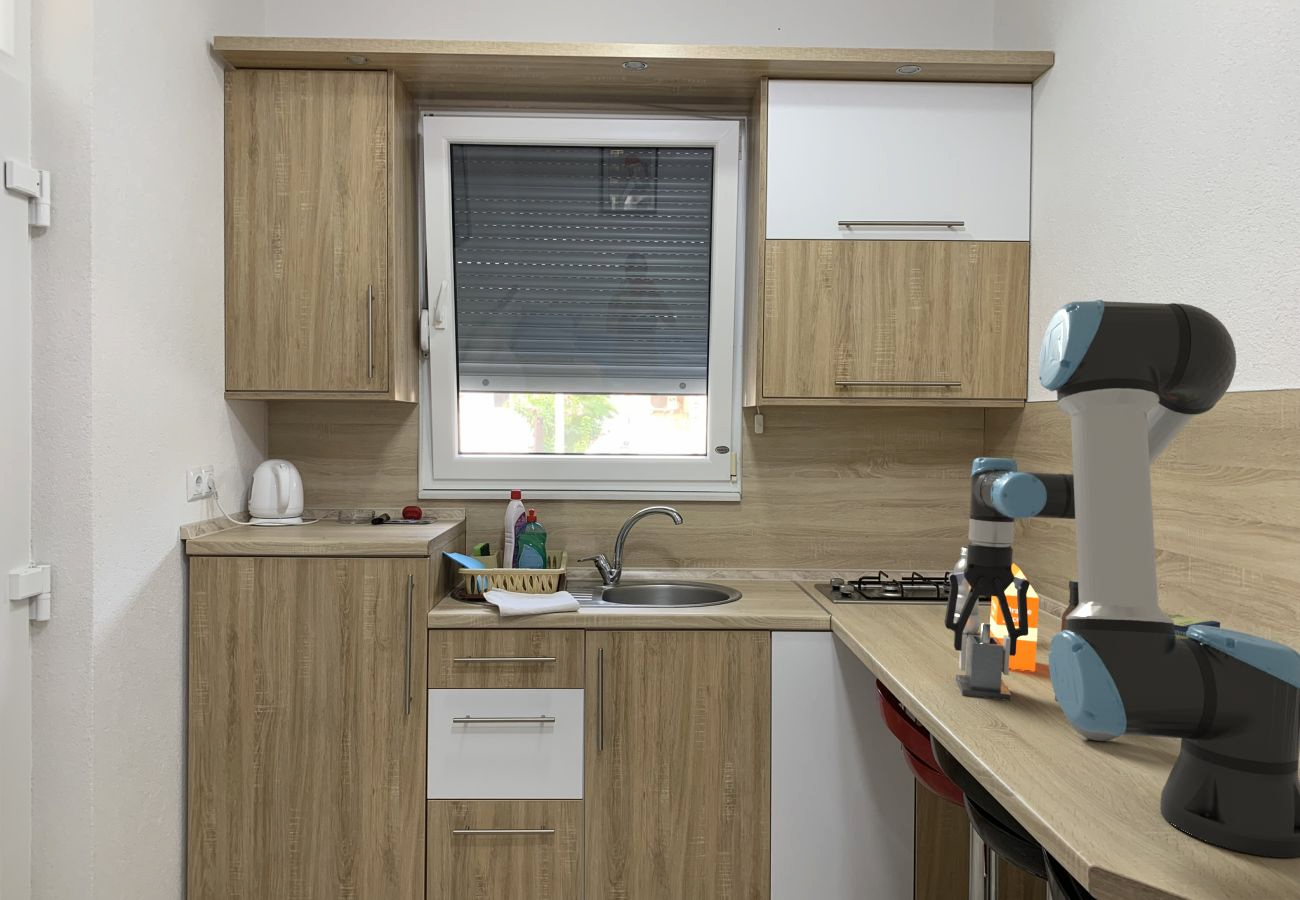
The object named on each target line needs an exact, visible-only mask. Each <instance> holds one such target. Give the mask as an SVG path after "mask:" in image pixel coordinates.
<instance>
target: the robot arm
mask: <svg viewBox="0 0 1300 900" xmlns="http://www.w3.org/2000/svg"><path fill="white" fill-rule="evenodd" d="M1044 333H1045V334H1044V336H1043V339H1042V343H1041V345H1040V346H1041V347H1040V351H1039V352H1040V353H1039V359H1038V378H1039V379H1038V380H1040V384H1041V386H1042V387H1043V388H1044V389H1046V390H1049V391H1050V392H1055V391H1056V393H1057V394H1056V395H1057V397H1056V398H1057V399H1056V400H1057V401H1056V402H1057V408H1058V409H1059V410H1060V411H1061V412H1062V413H1064V414H1065V415H1066V416H1067V417H1069V419H1070V424H1071V446H1072V448H1071V450H1072V451H1071V452H1072V453H1071V454H1072V470H1073V471H1072V472H1073V473H1072V474H1071V473H1050V472H1049V473H1048V472H1047V473H1046V472H1034V471H1033V472H1031V471H1030V472H1029V471H1018V463H1017V462H1016V460H1015V459H1013V458H999V457H998V458H997V457H977V458H974V460H973V461H972V469H971V474H970V480H971V483H970V502H969V503H970V505H969V506H970V507H969V526H968V540H970V542H969V544H967V547H968V554H967V566H966V569H965V570H964V572H963V573H957V574H954V572H950V573H948V580H949V591H948V599H947V603H946V609H945V610H946V611H945V616H944V625H945V627H946V629H947V630H951V631H953V633H954V635H953V636H954V637H953V647H954V649H955V651H958V652H959V660H958V661H959V662H958V667H959V669H960V671H962V672H966V661H967V642H968V635H967V634H966V632H964V631H963V630H964V628H965V626H966V623H967V621H968V619H969V616H970V614H971V612H972V610H973V607H974V605H975V603H976V601H977V599H978V598H979V597H980V596H983V597H985V596H991V597H992V596H995V597H997V599H998V602H999V605H1000V609H1001V612H1002V615H1003V618H1004V621H1005V625H1006V628H1007V631H1008V635H1003V658H1002V675H1004V676H1009V674H1010V669H1009V657H1010V656H1015V654H1016V644H1017V638H1018V637H1020V636H1027V635H1028V633H1029V632H1028V612H1027V591H1028V588H1029V585H1031V583H1030V581H1029V580H1028V579H1027V578H1026V579H1027V580H1028V581H1027V580H1026V579H1025V578H1022V579H1021V578H1018V577H1014V575H1013V573H1012V564H1013V551H1014V548H1013V547H1012V546H1011V544H1013V543H1014V533H1015V519H1021V520H1022V519H1029V518H1040V519H1043V518H1044V519H1063V520H1074V521H1075V523H1074V524H1075V539H1076V540H1075V542H1076V546H1075V547H1076V563H1077V564H1076V566H1077V567H1076V569H1077V570H1076V571H1077V580H1078V593H1079V604H1078V606H1077V607H1076V608H1075V609H1074V610H1073V611H1072V612H1071V613H1070V614H1069V615H1068V616H1067V617H1066V625H1067V630H1063V631H1061V630H1060V631H1058V632H1057V633H1055V635H1053V636H1052V638H1051V641H1050V650H1049V652H1048V668H1049V675H1050V680H1051V681H1050V682H1051V685H1052V688H1053V692H1054V696H1055V695H1056V698H1057V700H1058V701H1057V702H1058V705H1059V706H1060V708H1061V710H1062V711H1063V714H1064V716H1065V715H1066V716H1067V718H1068V719H1069V720H1070V721H1071V722H1072V723H1073V724H1074V725H1076V726H1077V727H1079V728H1081V729H1083V730H1086V731H1092V732H1101V733H1108V734H1110V735H1115V736H1119V737H1120V736H1123V735H1125V736H1136V737H1137V736H1139V737H1141V736H1142V737H1156V738H1169V739H1181V741H1180V751H1179V755H1178V757H1177V758H1176V761H1175V762H1174V765H1173V767H1172V768H1171V771H1170V773H1169V775H1168V777H1167V780H1166V782H1165V784H1164V786H1163V788H1162V790H1161V793H1160V807H1159V811H1160V810H1161V812H1160V814H1161V813H1162V814H1161V816H1162V815H1163V816H1164V817H1165V818H1166V819H1167V820H1168V821H1169V822H1171V823H1172V824H1174V825H1176V827H1178V828H1180V829H1182V830H1184V831H1186V832H1188V833H1190V834H1192V835H1194V836H1196V837H1198V838H1201V839H1203V840H1206V841H1208V842H1207V843H1209V842H1211V843H1210V844H1212V843H1213V844H1212V845H1215V844H1217V845H1216V846H1218V845H1219V846H1218V847H1221V846H1223V847H1222V848H1224V847H1225V849H1228V850H1233V851H1235V852H1240V851H1241V852H1242V853H1245V854H1250V855H1254V856H1262V855H1263V857H1271V856H1272V857H1271V858H1295V857H1300V778H1299V764H1300V763H1299V759H1300V653H1299V652H1297V650H1295V649H1293V648H1292V647H1290V646H1288V645H1286V644H1283V643H1280V642H1277V641H1273V640H1271V639H1267V638H1263V637H1261V636H1256V635H1254V634H1248V633H1246V632H1241V631H1237V630H1233V629H1227V628H1222V627H1220V628H1218V627H1212V626H1206V625H1191V626H1190V627H1189V628H1188V631H1187V632H1186V636H1187V637H1188V638H1187V639H1182V638H1175V631H1174V621H1173V620H1172V619H1171V618H1170V617H1169V616H1167V615H1166V614H1165V613H1164V612H1165V611H1164V610H1162V609H1161V608H1160V606H1159V595H1158V582H1157V581H1158V580H1157V566H1156V565H1157V564H1156V561H1157V560H1156V547H1155V533H1154V517H1153V515H1154V514H1153V498H1152V485H1151V483H1152V482H1151V466H1152V465H1153V463H1154V462H1155V461H1156V460H1157V459H1158V458H1159V457H1160V456H1161V454H1162V453H1163V452H1164V451H1165V449H1167V447H1168V446H1169V445H1170V444H1171V443H1172V442H1173V441H1174V440H1175V439H1176V437H1177V436H1178V435H1179V434H1180V433H1181V432H1182V431H1183V429H1184V428H1185V427H1186V426H1187V425H1188V424H1189V423H1190V421H1191V420H1193V418H1194V417H1195V416H1199V415H1203V414H1206V413H1207V412H1210V411H1211V410H1212V408H1214V407H1215V406H1216V404H1217V403H1219V401H1220V400H1221V399H1222V398H1223V397H1224V395H1225V394H1226V392H1227V391H1228V389H1229V388H1230V387H1231V384H1232V381H1233V378H1234V376H1235V372H1236V368H1237V352H1236V348H1235V343H1234V340H1233V337H1232V336H1231V334H1230V333H1229V331H1228V328H1226V326H1225V325H1224V324H1223V323H1222V322H1221V320H1219V318H1218V317H1216V316H1215V315H1214V314H1212V313H1210V312H1208V311H1207V310H1205V309H1204V308H1203V309H1202V308H1201V307H1197V306H1194V305H1191V304H1186V303H1178V302H1177V303H1175V302H1174V303H1173V302H1171V303H1158V302H1157V303H1156V302H1155V303H1154V302H1153V303H1152V302H1131V301H1128V302H1126V301H1105V300H1103V299H1096V300H1093V301H1091V300H1090V301H1088V300H1087V301H1072V302H1067V303H1066V304H1064V305H1063V306H1061V307H1060V308H1058V310H1057V311H1056V312H1055V313H1054V315H1053V317H1052V318H1051V320H1050V321H1049V324H1048V326H1047V328H1046V331H1045V332H1044ZM963 579H966V580H967V582H968V583H969V585H970V586H971V589H970V591H969V594H968V597H967V599H966V602H965V604H964V606H963V609H962V611H961V613H960V615H959V618H958V620H957V622H956V623H954V615H955V609H956V603H957V597H958V589H959V588H958V586H959V585H961V584H962V580H963ZM1012 582H1013V583H1014V584H1015V585H1014V587H1015V588H1016V589H1017V604H1018V624H1019V628H1015V625H1014V622H1013V619H1012V615H1011V612H1010V609H1009V606H1008V603H1007V598H1006V595H1005V592H1004V591H1005V590H1006V589H1007V588H1008V587H1009V586H1010V584H1011V583H1012ZM978 600H979V599H978ZM1066 716H1065V717H1066ZM1067 718H1066V719H1067ZM1163 816H1162V817H1163ZM1164 817H1163V818H1164ZM1165 818H1164V819H1165ZM1166 819H1165V820H1166ZM1167 820H1166V821H1167ZM1168 821H1167V822H1168ZM1169 822H1168V823H1169ZM1172 824H1171V825H1172ZM1176 827H1175V828H1176ZM1178 828H1177V829H1178ZM1180 829H1179V830H1180ZM1194 836H1193V837H1194ZM1196 837H1195V838H1196ZM1198 838H1197V839H1198ZM1201 839H1200V840H1201ZM1203 840H1202V841H1203ZM1206 841H1205V842H1206Z"/></svg>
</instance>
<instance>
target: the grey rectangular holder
mask: <svg viewBox="0 0 1300 900" xmlns="http://www.w3.org/2000/svg"><path fill="white" fill-rule="evenodd" d="M980 636H981V635H976V634H968V635H967V646H966V664H965V675H966V679H967V682H968V684H969V686H970V688H974V689H984V690H993V691H1001V679H1002V675H1003V672H1002V658H1003V645H1002V644H1001V642H1000V641H999V640H998V638H997V637H990V644H986V643H980Z"/></svg>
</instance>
